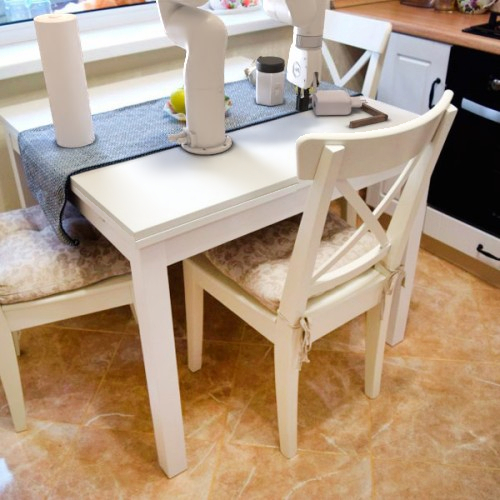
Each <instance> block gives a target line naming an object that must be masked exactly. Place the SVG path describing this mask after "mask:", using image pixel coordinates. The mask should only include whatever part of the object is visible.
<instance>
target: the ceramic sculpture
mask: <svg viewBox="0 0 500 500" xmlns="http://www.w3.org/2000/svg"><path fill="white" fill-rule="evenodd" d="M260 57H263V56H261V55H260V56H258V57H257V58H255V59H254V60H253V61H252V62H251V64H250V66H249V68H247V67H246V68H245V69H244V70H243V72H244V75H245V76H246V77H248V81H249V83H250V84H251V86H252V87H255V88H256V60H257V59H258V58H260Z"/></svg>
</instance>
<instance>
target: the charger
mask: <svg viewBox="0 0 500 500" xmlns="http://www.w3.org/2000/svg"><path fill="white" fill-rule="evenodd" d="M350 96H351V95H350V94H349V93H348V92H347V91H346V90H344V89H331V90H330V89H327V90H317V93H316V94H311V97H312V103H311V106H312V107H311V108H312V109H313V111H314V113H315V115H316V116H348V115H349V114H351V112H352V108H358V107H361V106H362V103H365V104H369V101H367V99H361V98H360V96H351V97H350Z"/></svg>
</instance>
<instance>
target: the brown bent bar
mask: <svg viewBox="0 0 500 500" xmlns="http://www.w3.org/2000/svg"><path fill="white" fill-rule="evenodd" d="M349 96H350V97H352V96H351V95H349ZM309 104H312V96H311V97H309ZM357 109H360V110H362V111H364V112H365V113H368V114H369V115H372V116H368V117H364V118H359V119H354V120H349V128H351V129H354V128H358V127H363V126H367V125H372V124H378V123H381V122H382V123H383V122H386V121H388V120H389V119H388V118H389V114H387V113H385V112H383V111H381V110H379V109H377V108H375V107H373V106H371V105H368V103H362V106H361V107H357Z"/></svg>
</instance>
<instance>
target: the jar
mask: <svg viewBox="0 0 500 500" xmlns="http://www.w3.org/2000/svg"><path fill="white" fill-rule="evenodd" d="M259 57H260V56H259ZM256 59H257V60H256V87H255V101H256V105H261V106H262V105H263V106H268V107H274V106H277V105H283V104H284V98H285V97H284V95H285V75H286V73H285V67H286V61H285V59H284V58H282V57H279V56H274V55H273V56H270V55H269V56H267V55H266V56H262V57H260V58H258V57H257V58H256Z"/></svg>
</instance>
